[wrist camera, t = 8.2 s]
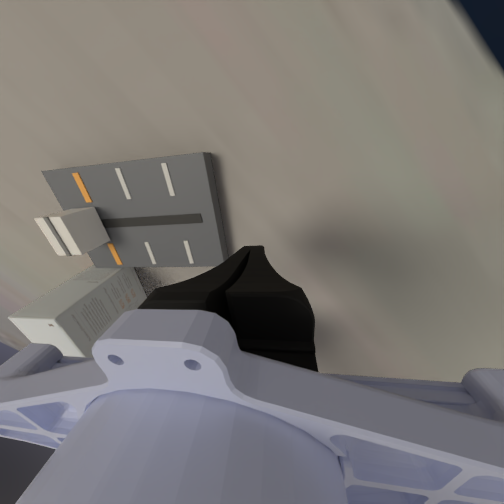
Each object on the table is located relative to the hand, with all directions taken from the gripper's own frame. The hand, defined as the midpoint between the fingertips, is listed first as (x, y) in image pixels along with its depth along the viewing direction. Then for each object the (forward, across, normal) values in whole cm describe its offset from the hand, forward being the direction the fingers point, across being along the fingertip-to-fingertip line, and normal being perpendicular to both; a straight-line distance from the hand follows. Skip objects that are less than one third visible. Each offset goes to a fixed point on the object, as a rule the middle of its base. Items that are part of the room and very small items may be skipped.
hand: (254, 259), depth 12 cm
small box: (+10, +22, +9) cm, 26 cm away
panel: (+9, +14, -1) cm, 17 cm away
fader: (+7, +20, -1) cm, 21 cm away
